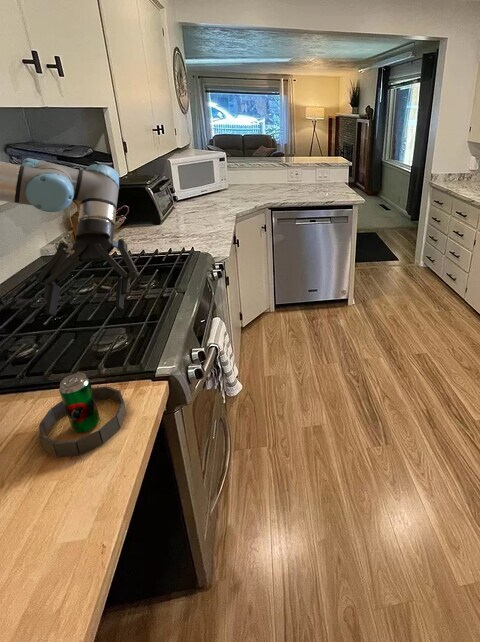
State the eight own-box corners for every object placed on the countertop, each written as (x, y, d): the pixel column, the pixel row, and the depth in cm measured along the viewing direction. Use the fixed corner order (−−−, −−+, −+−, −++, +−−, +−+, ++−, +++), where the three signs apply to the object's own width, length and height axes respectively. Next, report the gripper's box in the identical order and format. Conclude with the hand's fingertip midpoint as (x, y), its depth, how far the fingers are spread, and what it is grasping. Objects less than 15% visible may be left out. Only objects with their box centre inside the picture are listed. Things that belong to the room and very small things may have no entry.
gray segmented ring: (26, 441, 72) (21, 428, 70) (94, 391, 84) (91, 379, 83) (77, 468, 67) (72, 454, 65) (140, 410, 79) (138, 398, 78)
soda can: (105, 422, 76) (93, 377, 72) (80, 439, 72) (65, 393, 68) (93, 411, 79) (80, 368, 74) (67, 428, 75) (52, 383, 70)
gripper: (156, 228, 91) (151, 309, 83) (47, 234, 87) (31, 321, 79) (147, 214, 85) (141, 301, 76) (28, 220, 80) (8, 313, 72)
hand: (85, 311), depth 78 cm, fingers open, 13 cm apart
